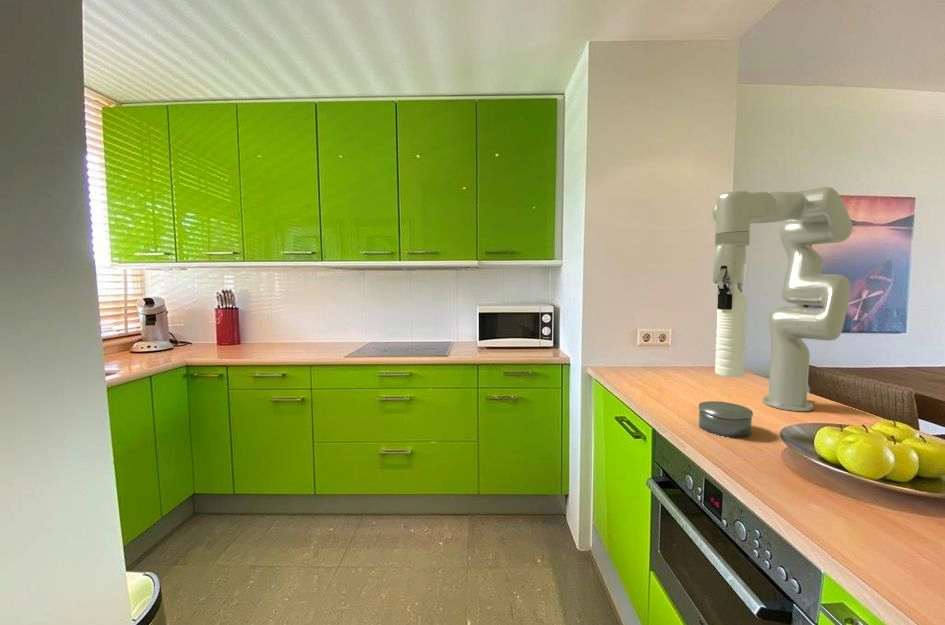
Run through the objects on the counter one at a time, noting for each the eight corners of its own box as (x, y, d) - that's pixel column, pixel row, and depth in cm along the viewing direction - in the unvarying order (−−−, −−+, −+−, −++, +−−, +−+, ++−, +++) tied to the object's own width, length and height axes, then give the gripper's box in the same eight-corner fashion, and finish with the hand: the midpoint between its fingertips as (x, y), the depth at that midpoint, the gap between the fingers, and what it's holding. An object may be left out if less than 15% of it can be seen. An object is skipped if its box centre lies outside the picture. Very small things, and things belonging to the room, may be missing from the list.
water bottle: (745, 378, 101) (749, 282, 98) (716, 376, 104) (719, 282, 101) (739, 370, 109) (743, 281, 106) (712, 368, 111) (715, 281, 109)
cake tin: (708, 418, 115) (708, 398, 115) (758, 430, 106) (759, 409, 105) (690, 429, 108) (691, 408, 107) (742, 443, 98) (743, 420, 97)
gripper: (727, 242, 110) (725, 305, 112) (703, 240, 99) (700, 310, 101) (759, 240, 104) (756, 306, 106) (737, 237, 94) (734, 311, 95)
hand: (729, 307), depth 104 cm, fingers closed on water bottle, 6 cm apart
